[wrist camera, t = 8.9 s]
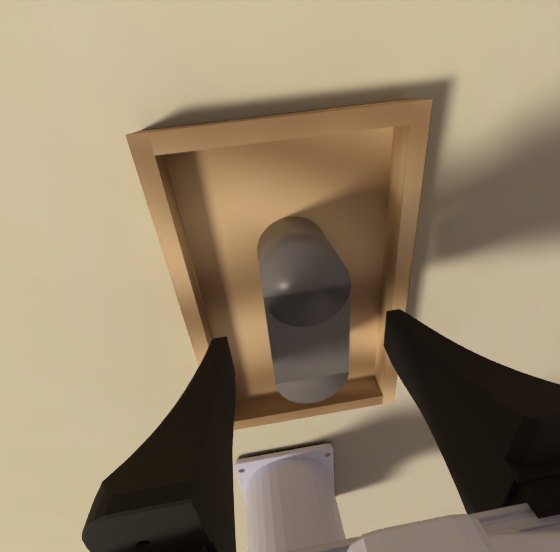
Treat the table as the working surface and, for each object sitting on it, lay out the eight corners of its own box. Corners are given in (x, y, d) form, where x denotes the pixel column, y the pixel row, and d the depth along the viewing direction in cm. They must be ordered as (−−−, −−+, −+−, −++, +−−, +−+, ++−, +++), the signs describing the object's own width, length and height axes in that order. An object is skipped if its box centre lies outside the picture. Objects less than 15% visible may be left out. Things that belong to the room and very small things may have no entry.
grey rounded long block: (328, 367, 20) (347, 421, 17) (274, 376, 20) (282, 432, 17) (325, 211, 15) (351, 244, 12) (252, 221, 15) (257, 257, 12)
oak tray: (381, 378, 22) (393, 401, 21) (221, 406, 22) (219, 432, 20) (407, 99, 14) (432, 99, 12) (140, 130, 13) (125, 135, 11)
